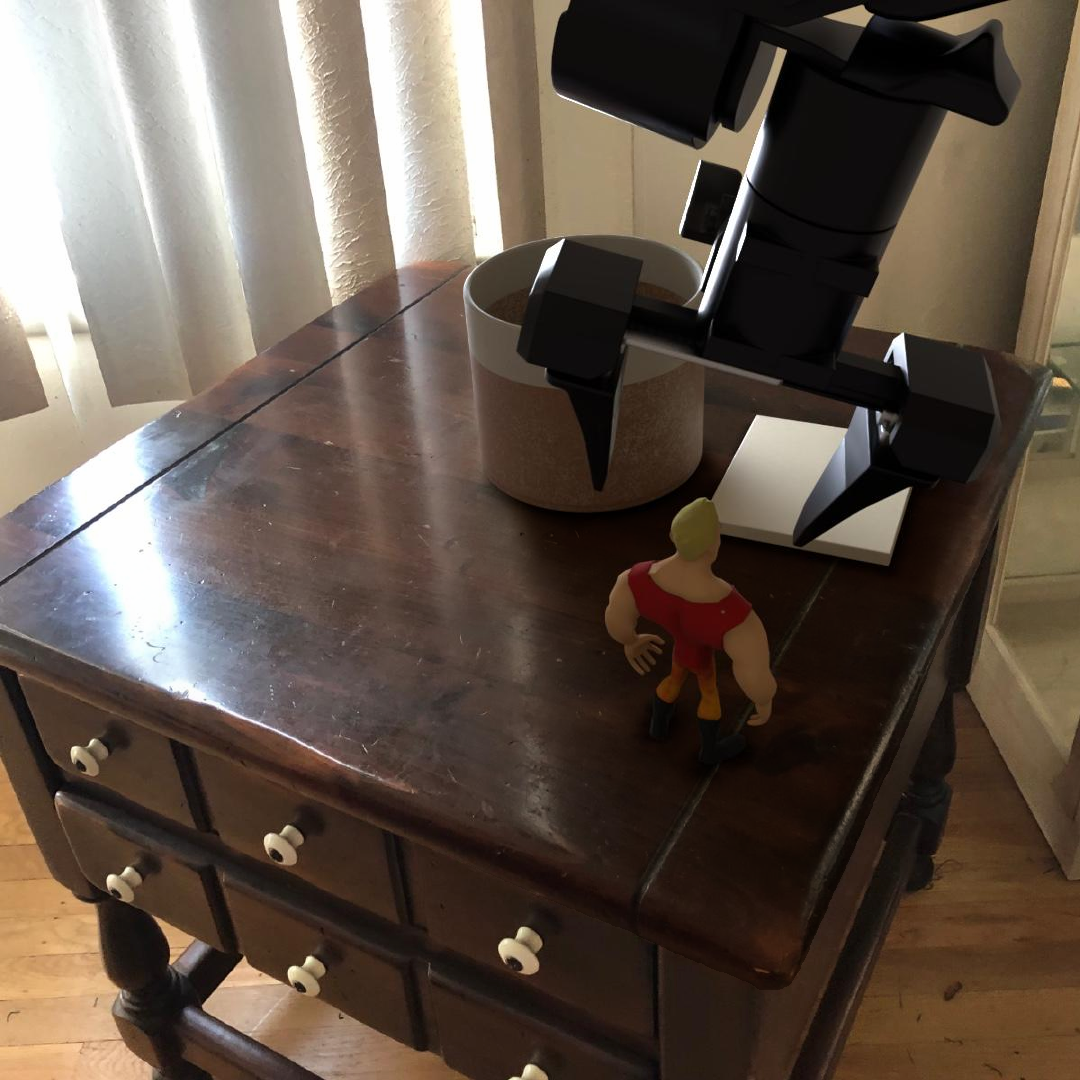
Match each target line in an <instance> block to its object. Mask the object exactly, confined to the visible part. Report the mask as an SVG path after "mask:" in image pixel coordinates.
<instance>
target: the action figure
mask: <svg viewBox="0 0 1080 1080" xmlns="http://www.w3.org/2000/svg"><path fill="white" fill-rule="evenodd" d="M721 530H722V523H721V522H720V521H719V520H718V514H717V511H716V508H715V505H714V502H712V501H711V500H709V499H708V498H707V497H699V498H696V499H695V500H694V501H693V502H691V503H689V504H687V505H685V506H684V507H682V508H681V509H680V511H678V513H677V514H676V515H675V516H674V518H673V520H672V523H671V528H670V532H669V539H670V540H671V542H673V543H674V546H675V548H676V553H675V554H673V555H672V556H670V557H667V558H665V559H662V560H649V561H643V562H642V561H639V562H638V563H636V564H633V566H632V567H631V568H629V569H626V570H624V571H623V572H622V573H621V574H619V575H618V576H617V579H616V582H615V584H614V586H613V588H612V589H611V591H610V594H609V604H608V605H607V606H606V609H605V614H604V618H605V619H604V621H605V626H606V629H607V632H608V634H609V635H610V637H611V638H612V639H613V640H615V641H616V642H617V643H620V644H622V645H624V654H625V656H626V658H627V660H628V662H629V664H630V665H631V666H632V668H633V669H634V670H635V671H636V672H637V673H638V674H639V675H641V676H643V675H645V674H646V673H645V672H647V673H650V672H651V668H650V667H649V666H648V664H647V663H646V662H645V661H644V659H643V657H644V658H645V660H647V662H649V664H651V666H656V664H657V661H656V660H655V659H654V658H653V656H652V655H651V654H650V653H649V651H648V650H650V651H652V652H654V653H656V654H657V655H662V654H663V650H662V649H660V648H659V647H657V646H656V645H654V644H653V643H651V642H654V643H655V644H658V645H661V646H662V645H664V644H665V640H663V639H662V638H661V637H659V636H658V635H656V634H649V633H642V634H640V633H639V634H637V633H636V630H635V629H636V626H637V625H638V618H639V617H640V616H641V617H643V618H645V619H646V620H649V621H651V622H654V623H656V624H657V625H660V626H661V627H663V629H665V630H666V631H667V632H668V633H669V634H670V635H672V636H673V639H674V644H673V648H672V653H671V659H672V663H671V671H670V672H671V673H670V675H667V677H665V678H664V679H662V681H661V682H660V683H659V685H658V686H657V688H656V690H654V693H653V698H652V717H651V721H650V727H649V735H650V736H651V738H652V739H654V740H656V741H659V742H661V741H664V740H665V739H666V738H667V736H668V732H669V723H670V721H671V719H672V718H673V717H674V715H676V714H675V713H676V706H675V704H676V702H677V700H678V696H679V693H680V691H681V689H682V685H683V683H684V682H685V680H686V678H687V676H688V674H689V672H691V673H693V674H694V675H696V677H697V681H698V682H697V683H698V686H699V691H700V692H701V699H700V702H699V704H698V708H697V713H696V716H695V719H696V725H697V729H698V734H699V736H700V739H701V742H702V745H701V749H700V750H699V753H698V760H699V762H700V763H703V764H705V765H715V764H719V763H720V762H723V761H725V760H728V759H731V758H733V757H735V756H737V755H739V754H740V753H741V752H743V751H744V749H745V748H746V738H745V737H744V736H743V735H741V734H740V733H737V734H736V733H735V734H730V735H728V736H726V737H725V738H723V739H721V740H720V741H718V735H719V731H720V729H721V726H722V721H723V717H722V708H721V704H720V703H721V702H720V696H719V689H718V688H717V668H716V662H715V661H716V660H715V649H718V650H720V651H723V652H725V653H726V654H727V655H728V657H729V658H730V659H731V660H732V673H733V676H734V678H735V681H736V683H737V684H738V685H739V687H740V688H741V690H742V691H743V692H744V694H745V696H746V697H747V698H749V700H750V701H752V702H754V703H755V704H754V705H755V710H756V713H757V714H752V715H750V717H749V718H750V719H748V721H747V722H746V723H747V725H749V726H753V727H756V726H762V725H764V724H765V723H767V722H768V720H769V718H770V716H771V714H772V705H773V698H774V696H775V694H776V693H777V689H778V685H777V682H776V679H775V677H774V676H773V674H772V672H771V668H770V650H769V641H768V636H767V632H766V630H765V627H764V625H763V622H762V621H761V619H760V618H759V616H758V615H757V613H756V612H755V610H754V609H753V604H752V603H751V602H750V601H748V600H747V599H746V598H744V597H743V595H741V593H739V591H738V590H737V588H736V587H735V585H734V584H731V583H729V582H727V581H725V580H723V579H722V578H721V577H720V578H719V577H717V576H716V575H715V574H714V573H713V570H712V564H713V563H714V562H715V561H716V560H717V557H718V552H719V548H720V546H721V542H722V541H721V534H720V533H721ZM641 655H642V656H643V657H642V656H641ZM635 659H636V660H635ZM637 662H638V663H637Z"/></svg>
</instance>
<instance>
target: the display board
mask: <svg viewBox="0 0 1080 1080" xmlns="http://www.w3.org/2000/svg"><path fill="white" fill-rule="evenodd" d="M847 430H848V428H844V427H839V426H831V425H825V424H818V423H813V422H806V421H799V420H792V419H786V418H779V417H774V416H766V415H761V414H760V415H759V414H756V416H755V418H754V419H753V421H752V423H751V425H750V426H749V428H748V430H747V432H746V434H745V436H744V438H743V440H742V442H741V444H740V445H739V448H738V449H737V451H736V453H735V455H734V456H733V458H732V460H731V462H730V464H729V467H728V468H727V470H726V472H725V474H724V475H723V477H722V479H721V481H720V483H719V485H718V487H717V489H716V490H715V492H714V494H713V496H712V498H711V500H710V501H712V502H714V505H715V508H716V511H717V514H718V520H719V521H720V522H721V523H722V530H721V533H720V535H725V536H730V537H735V538H740V539H745V540H750V541H755V542H761V543H766V544H771V545H776V546H781V547H785V548H786V547H787V548H791V549H792V548H793V549H797V550H801V551H802V550H803V551H807V552H813V553H818V554H823V555H826V556H827V555H828V556H833V557H837V558H844V559H848V560H854V561H859V562H864V563H868V564H869V563H870V564H875V565H880V566H884V567H889V566H890V564H891V560H892V557H893V554H894V550H895V547H896V543H897V541H898V536H899V533H900V531H901V526H902V523H903V521H904V517H905V513H906V511H907V507H908V503H909V501H910V496H911V494H912V491H913V487H909V488H907V489H904V490H902V491H900V492H898V493H896V494H894V495H892V496H890V497H888V498H886V499H883V500H881V501H879V502H877V503H875V504H873V505H871V506H869V507H867V508H865V509H863V510H861V511H859V512H857V513H855V514H854V515H852V516H851V517H848V518H847V519H846V520H844V521H842V522H841V523H839V524H838V525H836V526H835V527H833V528H831V529H830V530H828V531H827V532H825V533H824V534H822V535H820V536H819V537H817V538H816V539H814V540H812V541H811V542H809V543H808V544H806V545H805V546H803V547H797V546H794V545H793V531H794V528H795V525H796V523H797V520H798V518H799V516H800V513H801V511H802V508H803V506H804V504H805V502H806V500H807V499H808V497H809V495H810V494H811V492H812V490H813V488H814V487H815V485H816V483H817V482H818V480H819V478H820V477H821V475H822V473H823V472H824V470H825V468H826V467H827V465H828V463H829V461H830V460H831V458H832V456H833V455H834V453H835V451H836V450H837V448H838V446H839V445H840V443H841V441H842V439H843V438H844V436H845V434H846V432H847Z"/></svg>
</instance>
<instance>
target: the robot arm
mask: <svg viewBox="0 0 1080 1080" xmlns="http://www.w3.org/2000/svg"><path fill="white" fill-rule="evenodd" d="M1009 1H1010V0H569V3H568V6H567V9H565V10H563V11H562V13H560V15H559V17H558V20H557V24H556V28H555V33H554V36H553V42H552V43H553V44H552V51H551V57H550V58H551V59H550V77H551V84H552V85H551V86H552V87H553V90H554V93H555V94H556V95H558V96H559V97H561V98H564V99H566V100H569V101H572V102H573V103H576V104H579V105H582V106H584V107H586V108H589V109H592V110H593V111H597V112H598V113H599V112H600V113H602V114H605V115H607V116H609V117H612V118H614V119H617V120H619V121H622V122H624V123H627V124H630V125H632V126H635V127H638V128H640V129H643V130H645V131H648V132H650V133H653V134H656V135H658V136H660V137H663V138H665V139H668V140H670V141H673V142H676V143H677V144H680V145H684V146H686V147H689V148H691V149H694V150H696V151H699V150H701V149H703V148H704V147H705V146H707V144H709V141H710V140H711V139H712V138H713V137H714V135H715V133H716V132H717V130H718V128H719V127H720V125H721V128H723V129H726V130H729V131H731V132H734V133H736V134H738V133H740V132H741V131H742V129H744V128H745V126H746V124H747V123H748V122H749V120H750V118H751V116H752V115H753V112H754V111H755V109H756V107H757V104H758V103H759V100H760V98H761V96H762V94H763V91H764V89H765V86H766V84H767V82H768V79H769V77H770V73H771V70H772V68H773V65H774V62H775V58H776V55H777V51H778V48H779V49H781V50H785V55H784V57H783V60H782V64H781V66H780V70H779V73H778V75H777V79H776V81H775V84H774V87H773V90H772V93H771V96H770V99H769V101H768V105H767V108H766V111H765V114H764V117H763V120H762V123H761V125H760V129H759V131H758V134H757V137H756V140H755V144H754V146H753V149H752V152H751V155H750V158H749V161H748V164H747V167H746V169H745V173H744V176H743V174H742V172H741V171H740V170H739V169H737V168H735V167H734V168H733V167H730V166H726V165H723V164H719V163H715V162H712V161H708V160H704V159H702V158H701V159H699V162H698V165H697V168H696V172H695V175H694V179H693V181H692V185H691V187H690V191H689V195H688V198H687V201H686V205H685V207H684V212H683V215H682V219H681V222H680V225H679V235H680V237H681V238H683V239H686V240H690V241H693V242H697V243H701V244H705V245H709V246H712V248H711V251H710V254H709V257H708V259H707V262H706V266H705V269H704V274H703V277H702V283H701V289H700V291H701V292H703V293H705V294H704V297H703V300H702V303H701V306H700V309H699V311H698V310H695V309H691V308H688V307H684V306H680V305H677V304H673V303H669V302H666V301H662V300H659V299H655V298H651V297H648V296H644V295H640V294H637V293H636V289H637V285H638V281H639V277H640V273H641V269H642V265H643V260H639V259H636V258H632V257H629V256H625V255H621V254H618V253H614V252H610V251H607V250H603V249H600V248H596V247H592V246H589V245H585V244H582V243H578V242H574V241H571V240H567V239H563V240H562V241H560V242H559V243H557V244H556V245H554V246H553V247H551V248H550V249H548V250H547V252H546V255H545V257H544V260H543V262H542V265H541V268H540V270H539V273H538V275H537V278H536V280H535V283H534V286H533V288H532V291H531V293H530V296H529V299H528V303H527V306H526V310H525V313H524V317H523V321H522V326H521V330H520V335H519V340H518V344H517V349H516V352H517V353H518V354H519V355H520V356H521V357H522V358H523V359H524V360H525V361H526V362H527V363H530V364H533V365H537V366H541V367H544V368H546V371H545V375H544V376H545V380H546V381H547V382H548V383H549V384H550V385H552V386H554V387H557V388H561V389H563V390H565V391H566V392H567V394H568V397H569V399H570V402H571V405H572V407H573V410H574V412H575V415H576V418H577V420H578V423H579V425H580V428H581V431H582V434H583V438H584V443H585V448H586V453H587V459H588V464H589V469H590V475H591V480H592V485H593V490H595V491H598V492H602V490H603V488H604V485H605V482H606V479H607V475H608V471H609V467H610V463H611V458H612V454H613V449H614V443H615V436H616V429H617V422H618V415H619V408H620V401H621V394H622V387H623V380H624V373H625V367H626V361H627V355H628V349H629V345H630V346H634V347H637V348H641V349H644V350H648V351H652V352H655V353H659V354H663V355H666V356H670V357H673V358H677V359H681V360H684V361H688V362H691V363H695V364H699V365H702V366H705V368H710V369H713V370H717V371H721V372H723V373H724V372H725V373H728V374H732V375H736V376H739V377H743V378H746V379H750V380H752V381H753V380H754V381H757V382H760V383H764V384H767V385H772V386H775V387H781V386H783V387H787V388H790V389H793V390H798V391H801V392H804V393H809V394H813V395H815V396H820V397H823V398H826V399H829V400H834V401H837V402H841V403H845V404H847V405H851V406H856V408H855V410H854V413H853V416H852V418H851V421H850V423H849V426H848V428H847V429H848V430H847V432H846V434H845V436H844V438H843V439H842V441H841V443H840V445H839V446H838V448H837V450H836V451H835V453H834V455H833V456H832V458H831V460H830V461H829V463H828V465H827V467H826V468H825V470H824V472H823V473H822V475H821V477H820V478H819V480H818V482H817V483H816V485H815V487H814V488H813V490H812V492H811V494H810V495H809V497H808V499H807V500H806V502H805V504H804V506H803V508H802V511H801V513H800V516H799V518H798V520H797V523H796V525H795V528H794V531H793V545H794V546H797V547H803V546H805V545H806V544H808V543H809V542H811V541H812V540H814V539H816V538H817V537H819V536H820V535H822V534H824V533H825V532H827V531H828V530H830V529H831V528H833V527H835V526H836V525H838V524H839V523H841V522H842V521H844V520H846V519H847V518H848V517H851V516H852V515H854V514H855V513H857V512H859V511H861V510H863V509H865V508H867V507H869V506H871V505H873V504H875V503H877V502H879V501H881V500H883V499H886V498H888V497H890V496H892V495H894V494H896V493H898V492H900V491H902V490H904V489H907V488H909V487H912V488H917V489H923V490H932V489H934V488H935V487H936V486H937V484H938V483H939V481H940V480H941V479H945V480H949V481H952V482H955V483H959V484H964V485H967V484H969V483H971V482H974V481H976V480H978V479H979V478H980V476H981V474H982V473H983V471H984V469H985V467H986V466H987V464H988V463H989V461H990V459H991V458H992V457H993V454H994V453H995V451H996V449H997V447H998V445H999V444H998V443H999V439H1000V435H1001V431H1002V426H1003V425H1002V421H1001V416H1000V411H999V407H998V402H997V401H998V400H997V397H996V391H995V387H994V381H993V376H992V372H991V370H990V367H989V365H988V363H987V360H986V358H985V355H984V353H979V352H977V351H973V350H969V349H965V348H961V347H958V346H956V345H955V346H954V345H951V344H948V343H943V342H940V341H935V340H933V339H929V338H926V337H922V336H919V335H915V334H911V333H907V332H902V333H901V334H899V335H898V336H896V337H895V338H893V340H892V342H891V344H890V346H889V348H888V350H887V352H886V354H885V357H884V359H883V361H882V360H879V359H875V358H873V357H868V356H865V355H861V354H857V353H854V352H851V351H846V350H843V346H844V344H845V342H846V340H847V338H848V336H849V333H850V331H851V329H852V327H853V324H854V322H855V320H856V317H857V315H858V314H859V311H860V309H861V307H862V304H863V302H864V300H865V298H866V299H869V297H870V295H871V292H872V291H873V288H874V286H875V284H876V281H877V279H878V277H879V275H880V264H881V262H882V260H883V257H884V255H885V253H886V251H887V248H888V246H889V244H890V242H891V240H892V238H893V235H894V232H895V230H896V228H897V226H898V225H899V224H898V223H899V221H900V220H901V217H902V214H903V212H904V210H905V208H906V206H907V204H908V201H909V200H910V197H911V195H912V193H913V190H914V188H915V186H916V183H917V181H918V179H919V177H920V175H921V172H922V170H923V168H924V166H925V163H926V162H927V159H928V156H929V155H930V152H931V150H932V148H933V145H934V143H935V141H936V139H937V136H938V134H939V132H940V130H941V127H942V125H943V123H944V121H945V119H946V116H947V114H948V112H951V113H954V114H957V115H960V116H962V117H965V118H967V119H971V120H972V121H976V122H978V123H981V124H984V125H987V126H990V127H998V126H1001V125H1002V124H1004V123H1005V122H1006V121H1007V119H1008V118H1009V116H1010V114H1011V112H1012V109H1013V107H1014V104H1015V103H1016V100H1017V98H1018V96H1019V94H1020V91H1021V89H1022V80H1021V78H1020V77H1019V74H1018V73H1017V71H1016V70H1015V68H1014V66H1013V64H1012V61H1011V59H1010V57H1009V56H1008V53H1007V50H1006V46H1005V43H1004V26H1003V25H1004V24H1003V23H1002V21H1001V20H1000V19H997V18H991V19H989V20H987V21H986V22H984V23H983V24H982V25H980V26H978V27H976V28H974V29H972V30H970V31H967V32H964V33H961V34H956V35H955V34H952V33H949V32H946V31H944V30H941V29H937V28H935V27H932V26H929V25H926V24H924V23H922V22H927V21H933V20H938V19H942V18H945V17H950V16H954V15H957V14H961V13H966V12H970V11H974V10H977V9H981V8H985V7H986V8H987V7H990V6H993V5H997V4H1000V3H1001V4H1002V3H1005V2H1009ZM859 6H863V7H864V9H865V10H866V11H867V12H868V13H869V14H872V16H871V17H870V19H869V20H868V21H867V23H866V25H865V26H863V25H858V24H853V23H849V22H844V21H840V20H836V19H833V18H829V17H827V16H830V15H833V14H836V13H840V12H844V11H847V10H850V9H853V8H856V7H859Z"/></svg>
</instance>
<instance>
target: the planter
mask: <svg viewBox="0 0 1080 1080" xmlns="http://www.w3.org/2000/svg"><path fill="white" fill-rule="evenodd" d="M563 239H567V240H571V241H574V242H578V243H582V244H585V245H589V246H592V247H596V248H600V249H603V250H607V251H610V252H614V253H618V254H621V255H625V256H629V257H632V258H636V259H639V260H643V265H642V269H641V273H640V277H639V281H638V285H637V289H636V293H637V294H640V295H644V296H648V297H651V298H655V299H659V300H662V301H666V302H669V303H673V304H677V305H680V306H684V307H688V308H691V309H695V310H698V311H699V309H700V306H701V303H702V300H703V297H704V294H705V293H703V292H701V291H700V289H701V283H702V277H703V274H704V271H705V269H704V267H703V266H702V264H701V263H700V262H699V261H698V260H697V259H696V258H695V257H693V256H692V255H690V254H688V252H686V251H684V250H682V249H681V248H678V247H675V246H673V245H670V244H668V243H665V242H661V241H659V240H658V241H657V240H654V239H649V238H644V237H638V236H631V235H624V234H609V233H608V234H607V233H604V234H603V233H593V234H592V233H591V234H587V233H586V234H573V235H563V236H562V235H561V236H554V237H549V238H543V239H539V240H533V241H530V242H526V243H523V244H519V245H515V246H513V247H511V248H508V249H505V250H503V251H501V252H498V253H496V254H494V255H491V256H490V257H489V258H487V259H485V260H484V261H482V262H481V263H480V264H478V266H476V267H475V268H474V269H473V270H472V271H471V272H470V273H469V275H468V276H467V278H466V280H465V282H464V284H463V301H464V310H465V312H464V313H465V320H466V331H467V340H468V350H469V351H468V352H469V359H470V367H471V368H470V369H471V379H472V388H473V398H474V406H475V407H474V408H475V416H476V426H477V435H478V436H477V437H478V444H479V454H480V455H479V456H480V463H481V466H482V469H483V471H484V473H485V474H486V476H487V478H488V479H489V480H490V482H492V484H493V485H495V486H496V488H498V490H500V491H501V492H503V493H505V494H506V495H508V496H510V497H511V498H514V499H516V500H518V501H520V502H523V503H525V504H528V505H531V506H534V507H538V508H542V509H547V510H552V511H557V512H563V513H564V512H565V513H578V514H583V513H585V514H587V513H588V514H591V513H606V512H607V513H608V512H615V511H620V510H626V509H631V508H634V507H637V506H641V505H645V504H647V503H650V502H653V501H656V500H658V499H661V498H663V497H664V496H666V495H668V494H670V493H672V492H673V491H675V490H676V489H678V488H679V487H680V486H682V485H683V484H685V482H687V481H688V479H689V478H691V477H692V475H693V474H694V473H695V471H696V469H698V467H699V465H700V463H701V459H702V456H703V447H704V446H703V443H704V442H703V441H704V411H705V410H704V409H705V408H704V407H705V377H706V376H705V371H706V366H702V365H699V364H695V363H691V362H688V361H684V360H681V359H677V358H673V357H670V356H666V355H663V354H659V353H655V352H652V351H648V350H644V349H641V348H637V347H634V346H630V345H629V349H628V355H627V361H626V367H625V373H624V380H623V387H622V394H621V401H620V408H619V415H618V422H617V429H616V436H615V443H614V449H613V454H612V458H611V463H610V467H609V471H608V475H607V479H606V482H605V485H604V488H603V490H602V492H598V491H595V490H593V485H592V480H591V475H590V469H589V464H588V459H587V453H586V448H585V443H584V438H583V434H582V431H581V428H580V425H579V423H578V420H577V418H576V415H575V412H574V410H573V407H572V405H571V402H570V399H569V397H568V394H567V392H566V391H565V390H563V389H561V388H557V387H554V386H552V385H550V384H549V383H548V382H547V381H546V380H545V376H544V375H545V371H546V368H544V367H541V366H537V365H533V364H530V363H527V362H526V361H525V360H524V359H523V358H522V357H521V356H520V355H519V354H518V353H517V352H516V349H517V344H518V340H519V335H520V330H521V326H522V321H523V317H524V313H525V310H526V306H527V303H528V299H529V296H530V293H531V291H532V288H533V286H534V283H535V280H536V278H537V275H538V273H539V270H540V268H541V265H542V262H543V260H544V257H545V255H546V252H547V250H548V249H550V248H551V247H553V246H554V245H556V244H557V243H559V242H560V241H562V240H563Z"/></svg>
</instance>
